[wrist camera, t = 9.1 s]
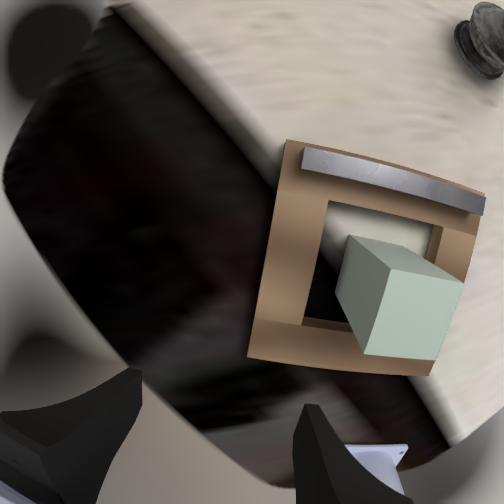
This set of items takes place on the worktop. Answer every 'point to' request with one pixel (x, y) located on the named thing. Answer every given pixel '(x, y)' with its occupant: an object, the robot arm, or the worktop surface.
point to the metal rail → (390, 179)
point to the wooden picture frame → (305, 255)
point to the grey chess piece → (483, 40)
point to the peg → (395, 299)
